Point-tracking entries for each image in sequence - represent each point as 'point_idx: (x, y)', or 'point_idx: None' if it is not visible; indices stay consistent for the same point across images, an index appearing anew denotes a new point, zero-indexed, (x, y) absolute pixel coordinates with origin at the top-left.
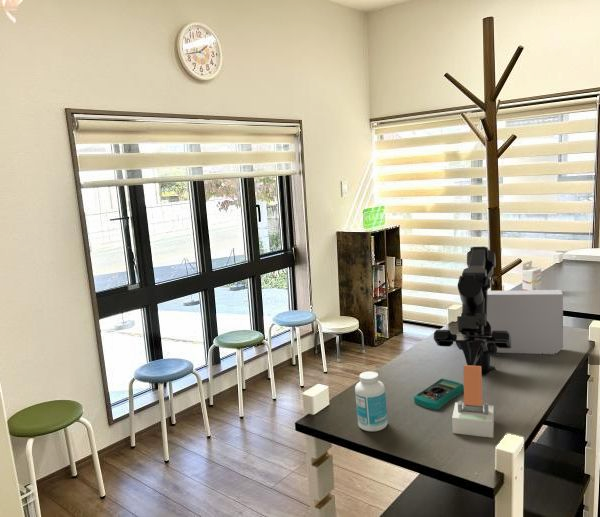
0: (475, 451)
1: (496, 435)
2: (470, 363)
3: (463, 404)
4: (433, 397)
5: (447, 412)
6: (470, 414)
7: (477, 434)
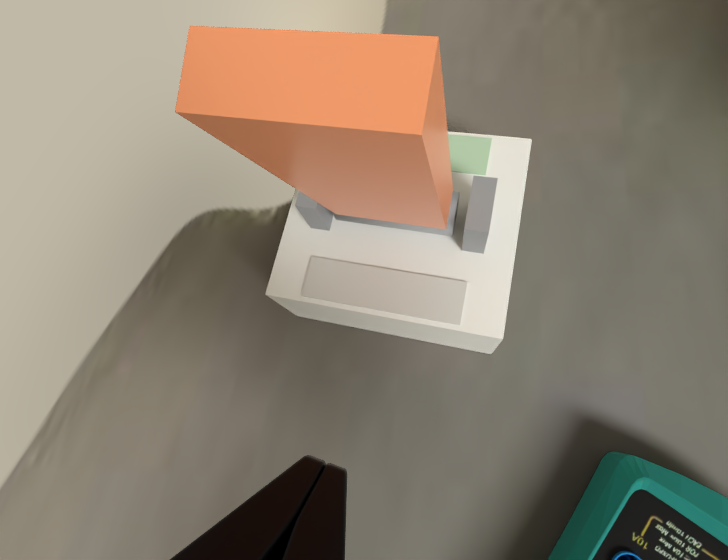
0: None
1: None
2: (288, 517)
3: (456, 202)
4: (667, 557)
5: (540, 416)
6: None
7: None
